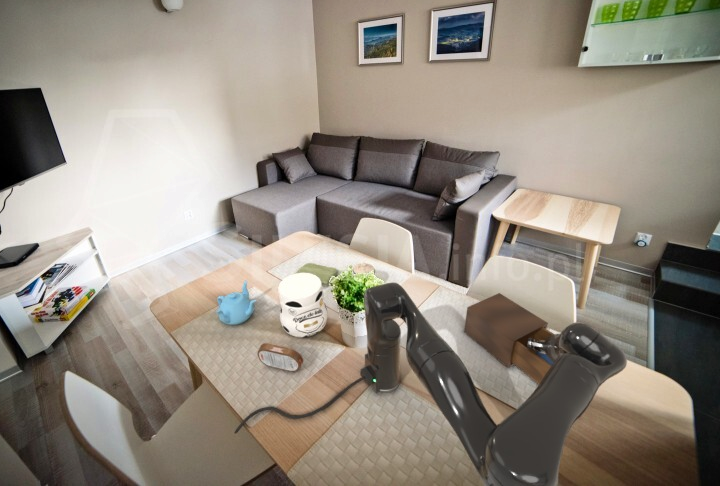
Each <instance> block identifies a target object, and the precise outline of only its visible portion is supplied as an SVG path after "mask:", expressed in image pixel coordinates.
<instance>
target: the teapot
mask: <svg viewBox="0 0 720 486" xmlns="http://www.w3.org/2000/svg"><path fill="white" fill-rule="evenodd" d="M247 284H248V280H244V282H243V284H242V289H241V290H242V291H241V292H238V291H235V292H231V293H230V292H229V294H227V295H225V296H224V295H219V296H217V299H216V300H217V303H218V310H215V311H214V313H216V314H218V318H219V321H220V322H221V323H223V324H225V325H228V326H237V325H241V324H243V323H245V322H246V321H248V319H249V318H250V317H251V316H252V315H253V313H254V312H255V302H257V299H252V300H250V295H249V291H248V286H247Z"/></svg>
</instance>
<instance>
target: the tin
mask: <svg viewBox="0 0 720 486" xmlns="http://www.w3.org/2000/svg"><path fill="white" fill-rule="evenodd" d="M257 358H258V360H259V361H260V362H261V363H262V364H263V365H265V366H267V367H270V368H274V369H278V370H282V371H286V372H291V373H296V372H298V371H299V370H300V369H301V367H302V365H303V364H304V357H303V356H302V355H301V353H300V352H299V351H297V350H296V349H294V348H292V347H287V346H283V345H278V344H275V343H269V342H264V343H262V344H261V345H260V347H259V348H258V350H257Z"/></svg>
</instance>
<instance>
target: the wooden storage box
mask: <svg viewBox="0 0 720 486" xmlns="http://www.w3.org/2000/svg"><path fill="white" fill-rule="evenodd" d="M548 326H549V322H547V321H546V320H544V319H543V318H541V317H539V316H537V315H536V314H534V313H533V312H531V311H530V310H529V309H526V308H525V307H523V306H522V305H519V304H518V303H516V302H515V301H513V300H512V299H510V298H509V297H507V296H505V295H504V294H502V293H500V292H498V293H495V294H494V295H492V296H489V297H486V298H485V299H483V300H480V301H478V302H476V303H474V304H472V305H469V306H467V308H466V315H465V321H464V327H463V328H464V329H463V333H464V334H466V335H467V336H468V337H469V338H470V339H472V340H473V341H474V342H475V343H477V344H478V345H479V346H480V347H482V348H483V349H484V350H485V351H486V352H487V353H488V354H490V355H491V356H492V357H494V358H495V359H496V360H497V361H499V362H500V363H501V364H502V365H503V366H505V367H506V368H507V369H509V368H510V367H513V366H515V365H514V364H513V363H511V360H512V356H513V352H514V347H515V343H516V342H517V341H519V340H521V339H523V338H525V337H526V336H528V335H530V334H532V333H534V332H536V331H538V330H539V329H541V328H543V327H544V328H545V329H547V330H548Z"/></svg>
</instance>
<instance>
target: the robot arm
mask: <svg viewBox="0 0 720 486" xmlns="http://www.w3.org/2000/svg"><path fill="white" fill-rule="evenodd" d="M363 308H364V319H365V328H366V349H367V350H366V352H367V353H365V354H364V367H362V368H360V369H359V372H360V377H359V378H358V379H355V381H353V382H351V383H350V384H348V385H347V386H346V387H345V388H344V389H342V390H341V391H340V392H339V393H337V394H336V395H335V396H334V397H333V398H332V399H331V400H329V401H328V402H327V403H325V404H324V405H322V406H320V407H318V408H316V409H315V410H313V411H310V412H307V413H304V414H297V415H292V414H289V413H287V412H284V411H282V410H280V409H279V408H277V407H273V406H266V407H261V408H258V409H257V410H255V411H253V412H251V413H250V414H249V415H248V416H246V417H245V418H244V419H243V420H242V421H241V423H239V425H238V426H237V427H236V429H235V430H234V433H233V434H234V435H235V434H238V433H239V431H240V430H241V429H242V428H243V426H245V424H246V423H247V422H248V421H249V420H250V419H251V418H252V417H254V416H256V415H257V414H259V413H262V412H265V411H273V412H275V413H277V414H279V415H281V416H283V417H285V418H287V419H290V420H291V419H292V420H301V419H305V418H308V417H311V416H313V415H315V414H318V413H320V412H321V411H323V410H325V409H326V408H328V407H330V406H331V405H332V404H334V403H335V401H337V400H338V399H339V398H341V396H342V395H344V394H345V393H346V392H347V391H348V390H350V389H351V388H352V387H354V386H355V385H357V384H358V383H361V382H362V381H364V382H365V384H366V386H367V387H369V386H370V387H371V388H372V389H373V391H374V393H375V394H377V393H384V394H385V393H391V392H393V391H395V390H396V389H398V388H399V385H400V382H401V381H400V380H401V377H400V374H401V373H400V369H401V368H400V366H401V345H402V344H401V341H402V331H401V327H400V325H399V323H398V322H396V321H395V320H396V319H401V320H402V321H403V322H404V324H405V325H406V328H407V329H406V332H407V333H406V342H405V355H406V361H407V363H408V365H409V367H410V368H411V369H412V371H413V373H414V374H415V376H416V378H417V379H418V380H419V382H420V383H421V385H422V386H423V387H424V389H425V390H426V392H427V393H428V394H429V396H430V397H431V399H432V401H433V402H434V404H435V405H436V406H437V408H438V409H439V411H440V412H441V414H442V415H443V417H444V418H445V420H446V421H447V422H448V424H449V425H450V427H451V428H452V430H453V431H454V433H455V434H456V436H457V438H458V439H459V441H460V443H461V445H462V446H463V448H464V450H465V452H466V453H467V455H468V457H469V459H470V461H471V463H472V465H473V466H474V469H475V470H476V472H477V474H478V475H479V478H480V479H481V481H482V483H483V485H484V486H558V484H559V471H560V465H561V460H562V456H563V451H564V448H565V447H564V446H565V442H566V439H567V437H568V434H569V432H570V429H571V428H572V426H573V425H574V424H575V422H576V421H577V420H579V418H580V417H582V415H583V414H584V413H586V410H587V409H588V408H589V406H590V405H591V403H592V401H593V399H594V398H595V396H596V394H597V392H598V390H599V388H600V387H601V386H602V385H603V384H604V383H605V382H607V381H608V380H609V379H611V378H613V377H615V376H617V375H619V374H620V373H621V372H623V371H624V370H625V369H626V367H627V365H628V359H627V356H626V354H625V352H624V351H623V350H622V349H621V348H620V347H619V346H617V345H616V344H615V343H614V342H612V341H611V340H610V339H608V338H607V337H606V336H604V335H603V334H602V333H600V331H598V330H597V329H595V328H594V327H593V326H591V325H590V324H587V323H586V322H582V321H576V322H575V321H574V322H572V323H570V324H568V325H567V326H565V327H564V328H563V330H562V331H561V332H559V333H553V334H554V335H551V336H549V337H548V338H547V339H546V340H540V341H539V342H538V341H535V340H533V339H532V338H528V341H527V348H528V349H530V350H531V349H534V351H539V353H542V354H546V355H547V356H548V358H549V359H550V360H551V361H553V362H554V363H553V364H552V366H551V367H550V369H549V370H548V371H547V373H546V374H545V376H544V377H543V379H542V380H541V382H540V383H539V384H538V385H537V386H536V388H534V390H533V391H532V393H531V394H530V396H529V397H527V399H526V400H524V401H523V402H522V404H520V406H518V407H517V408H516V409H515V410H514V411H513V412H511V413H510V414H509V415H507V416H506V417H505V418H503V420H502V421H500V422H499V423H498V424H497V423H496V422H495V420H494V419H493V418H492V417H491V414H489V412H488V410H487V409H486V406H485V405H484V403H483V401H482V399H481V397H480V394H479V392H478V390H477V387H476V385H475V383H474V381H473V379H472V376H471V374H470V372H469V371H468V369H467V367H466V365H465V364H464V362H463V361H462V359H461V358H460V357H459V355H458V354H457V353H456V352H455V351H454V349H453V348H452V347H451V346H450V345H449V343H447V341H446V340H445V339H444V338H443V337H442V336H441V335H440V334H439V333H438V332H437V331H436V329H435V328H434V327H433V326H432V325H431V323H430V322H429V321H428V320H427V319H426V317H425V316H424V315H423V313H422V312H421V311H420V309H419V308H418V306H417V305H416V303H415V302H414V301H413V299H412V298H411V296H410V295H409V293H408V292H407V291H406V290H405V288H404V287H403V286H402V285H400V284H399V282H388V283H383V284H378V285H375V286H374V287H371V288H368V289H366V290H365V293H363Z"/></svg>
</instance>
